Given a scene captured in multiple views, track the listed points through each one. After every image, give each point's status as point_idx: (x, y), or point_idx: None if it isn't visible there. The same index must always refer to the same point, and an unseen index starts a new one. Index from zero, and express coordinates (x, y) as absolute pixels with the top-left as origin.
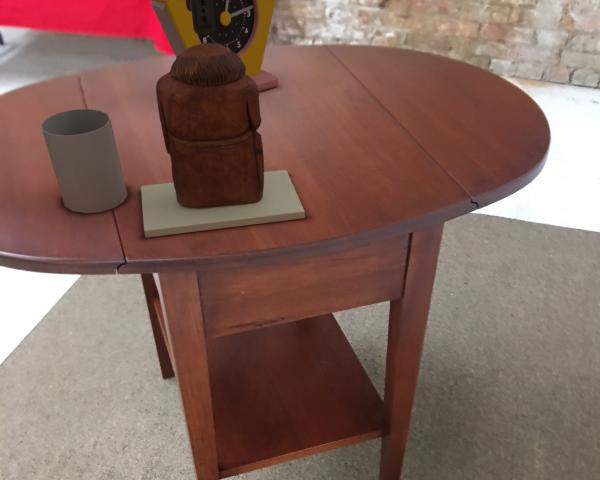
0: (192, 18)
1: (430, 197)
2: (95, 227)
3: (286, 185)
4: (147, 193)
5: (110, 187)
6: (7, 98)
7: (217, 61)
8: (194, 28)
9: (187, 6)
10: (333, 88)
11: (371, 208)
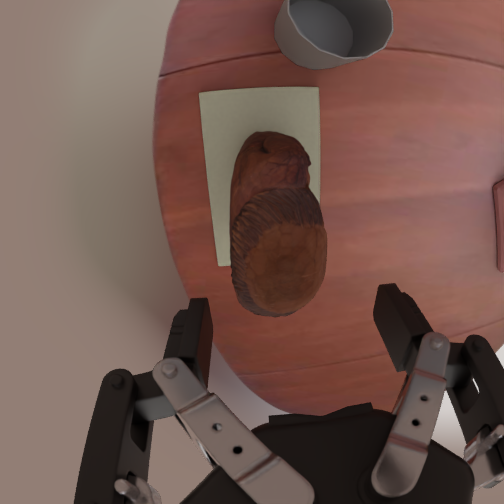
0: (194, 314)
1: (242, 356)
2: (236, 35)
3: None
4: (295, 94)
5: (287, 51)
6: None
7: (241, 288)
8: (190, 302)
9: (383, 288)
10: (469, 312)
11: (230, 316)
